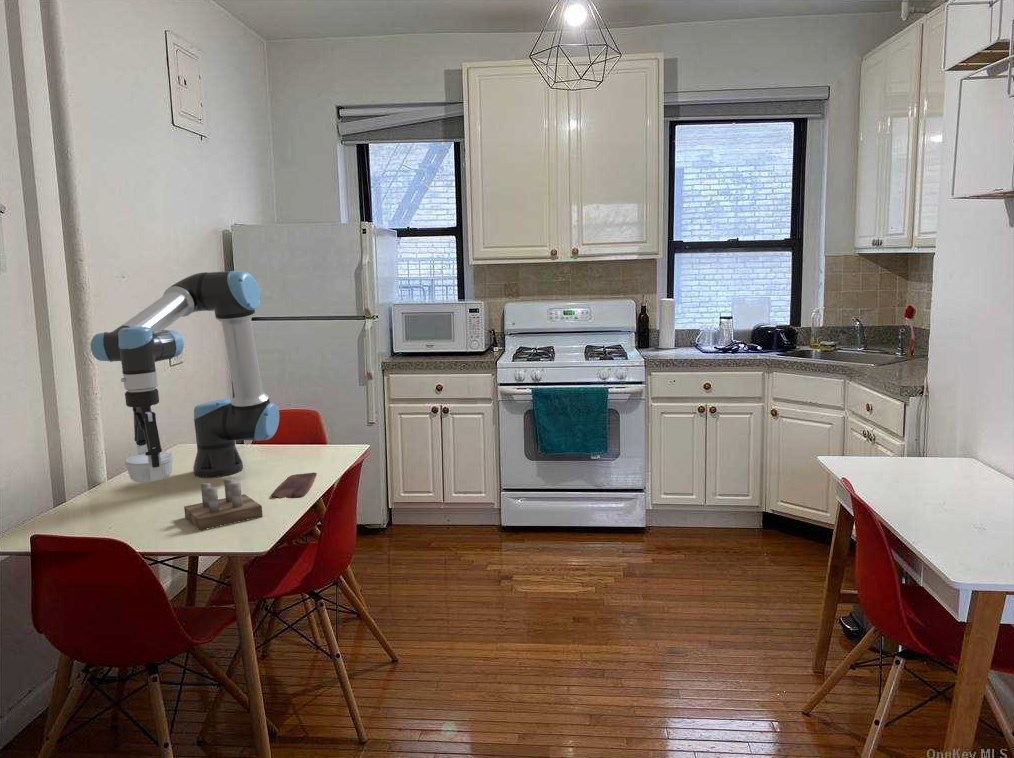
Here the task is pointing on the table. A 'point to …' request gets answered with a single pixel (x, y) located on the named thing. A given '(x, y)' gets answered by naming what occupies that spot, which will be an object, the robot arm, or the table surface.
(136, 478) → the ramekin
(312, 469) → the table surface
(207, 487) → the peg stand
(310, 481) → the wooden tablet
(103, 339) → the robot arm
